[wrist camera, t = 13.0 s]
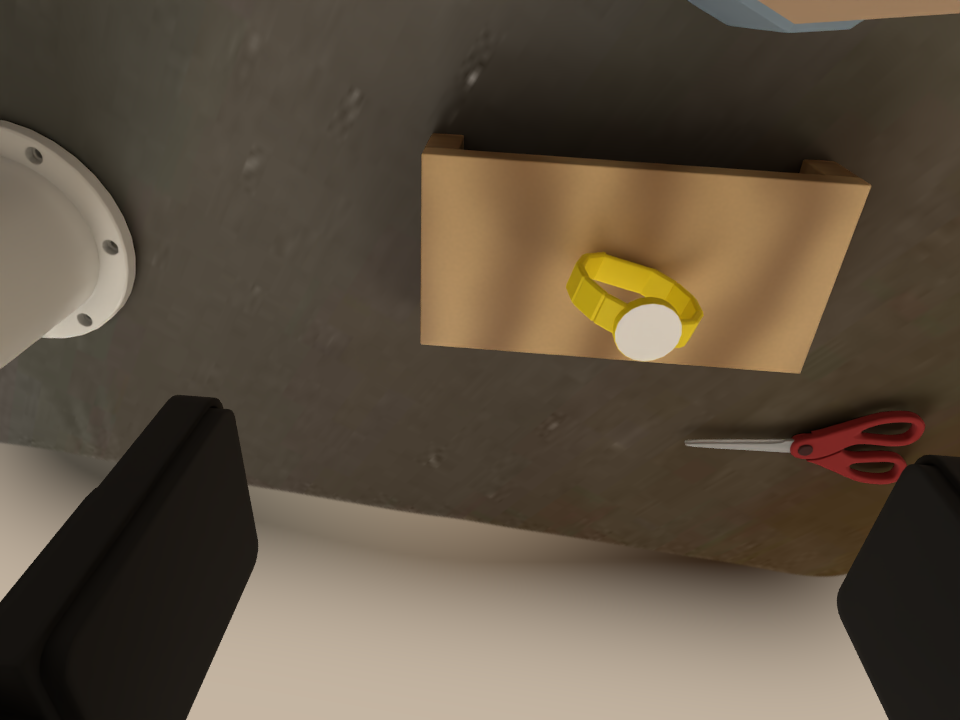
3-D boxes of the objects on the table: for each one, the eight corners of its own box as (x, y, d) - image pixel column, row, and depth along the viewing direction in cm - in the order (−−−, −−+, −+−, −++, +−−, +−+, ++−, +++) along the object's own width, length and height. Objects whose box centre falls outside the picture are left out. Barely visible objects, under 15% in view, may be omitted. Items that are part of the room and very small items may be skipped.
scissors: (894, 476, 42) (901, 487, 41) (676, 469, 43) (679, 480, 42) (923, 408, 39) (932, 419, 38) (690, 403, 40) (693, 412, 39)
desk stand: (429, 309, 38) (420, 344, 34) (432, 132, 32) (421, 153, 29) (775, 336, 37) (800, 374, 34) (835, 160, 32) (872, 185, 28)
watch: (556, 277, 32) (562, 338, 27) (579, 226, 30) (589, 280, 25) (668, 315, 32) (694, 381, 27) (695, 267, 31) (728, 327, 26)
